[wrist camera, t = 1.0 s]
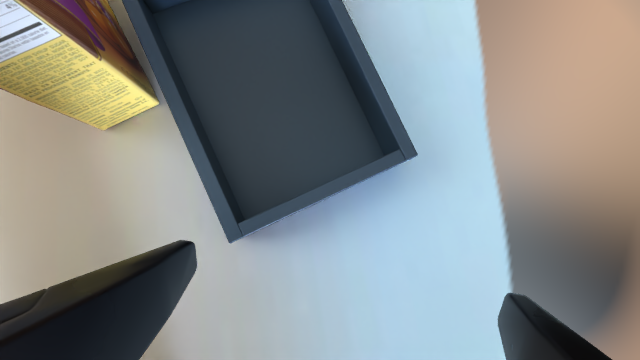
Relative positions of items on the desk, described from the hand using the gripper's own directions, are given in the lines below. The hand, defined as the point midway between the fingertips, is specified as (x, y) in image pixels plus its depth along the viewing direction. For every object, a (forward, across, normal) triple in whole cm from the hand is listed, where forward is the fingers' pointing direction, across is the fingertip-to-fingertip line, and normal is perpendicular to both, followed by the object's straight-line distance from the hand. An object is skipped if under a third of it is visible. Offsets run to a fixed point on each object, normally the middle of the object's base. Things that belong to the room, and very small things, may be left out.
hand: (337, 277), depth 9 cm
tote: (+14, +7, -4) cm, 16 cm away
